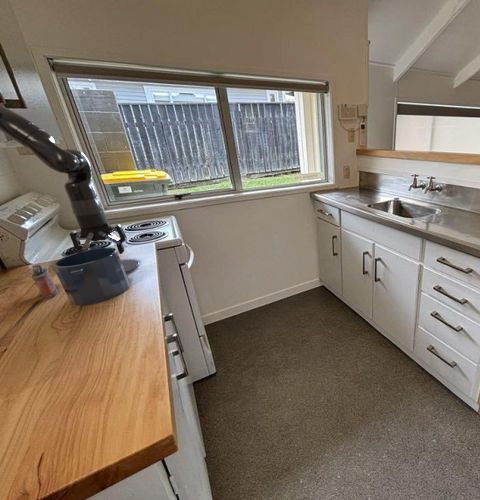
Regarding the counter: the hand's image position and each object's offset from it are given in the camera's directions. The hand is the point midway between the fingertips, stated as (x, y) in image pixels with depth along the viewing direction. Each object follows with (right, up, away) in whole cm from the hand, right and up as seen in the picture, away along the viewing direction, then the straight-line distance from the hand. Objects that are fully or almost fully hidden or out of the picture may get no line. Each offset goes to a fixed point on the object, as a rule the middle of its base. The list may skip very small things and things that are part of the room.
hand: (107, 256), depth 101 cm
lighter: (-9, -12, -11) cm, 18 cm away
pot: (+9, -11, -12) cm, 19 cm away
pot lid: (0, -5, +3) cm, 6 cm away
